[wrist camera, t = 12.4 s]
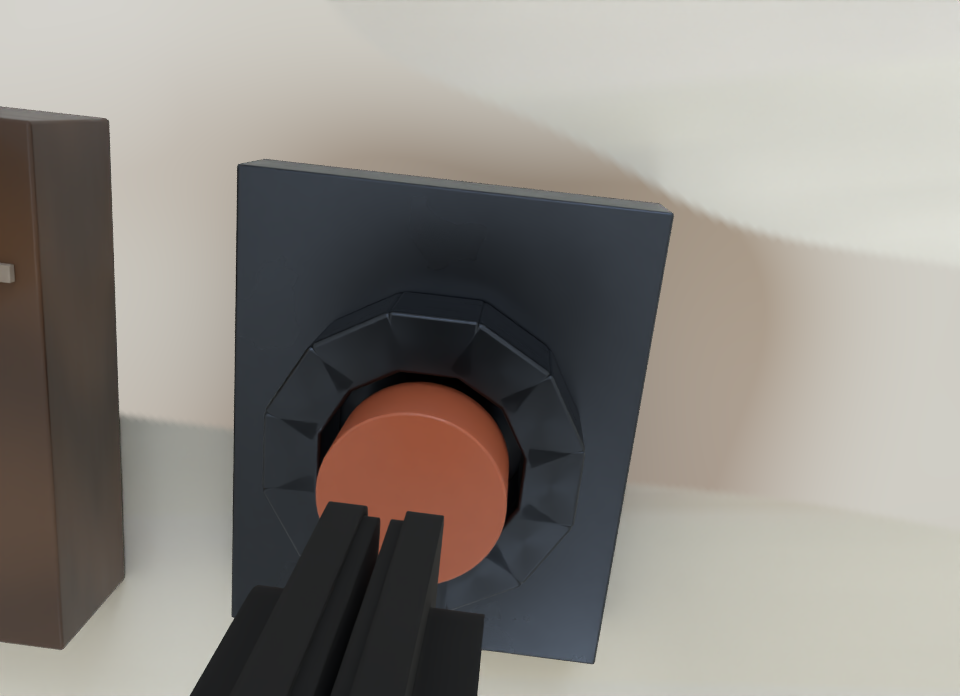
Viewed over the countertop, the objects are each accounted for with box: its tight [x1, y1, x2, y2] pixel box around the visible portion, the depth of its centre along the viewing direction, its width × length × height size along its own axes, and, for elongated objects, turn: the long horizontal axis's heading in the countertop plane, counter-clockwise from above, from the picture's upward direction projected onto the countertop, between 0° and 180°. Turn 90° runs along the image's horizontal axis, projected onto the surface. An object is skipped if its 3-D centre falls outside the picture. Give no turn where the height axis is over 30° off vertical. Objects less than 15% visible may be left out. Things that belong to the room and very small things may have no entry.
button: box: [315, 382, 509, 583], centre depth 15 cm, size 4×4×2 cm
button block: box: [232, 159, 674, 664], centre depth 18 cm, size 11×9×4 cm
